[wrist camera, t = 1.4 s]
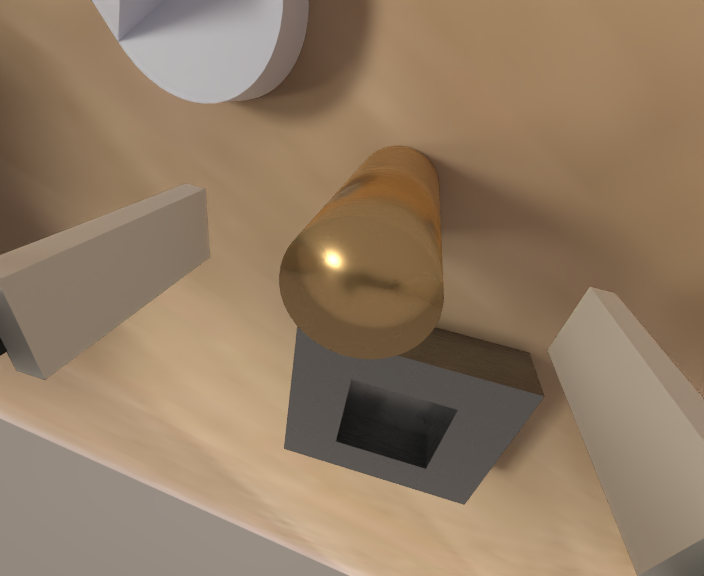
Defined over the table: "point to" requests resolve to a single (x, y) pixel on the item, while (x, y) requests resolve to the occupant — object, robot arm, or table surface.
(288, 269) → the golden brown cylinder
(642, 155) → the table surface
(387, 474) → the jig block
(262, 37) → the wedge on round base
